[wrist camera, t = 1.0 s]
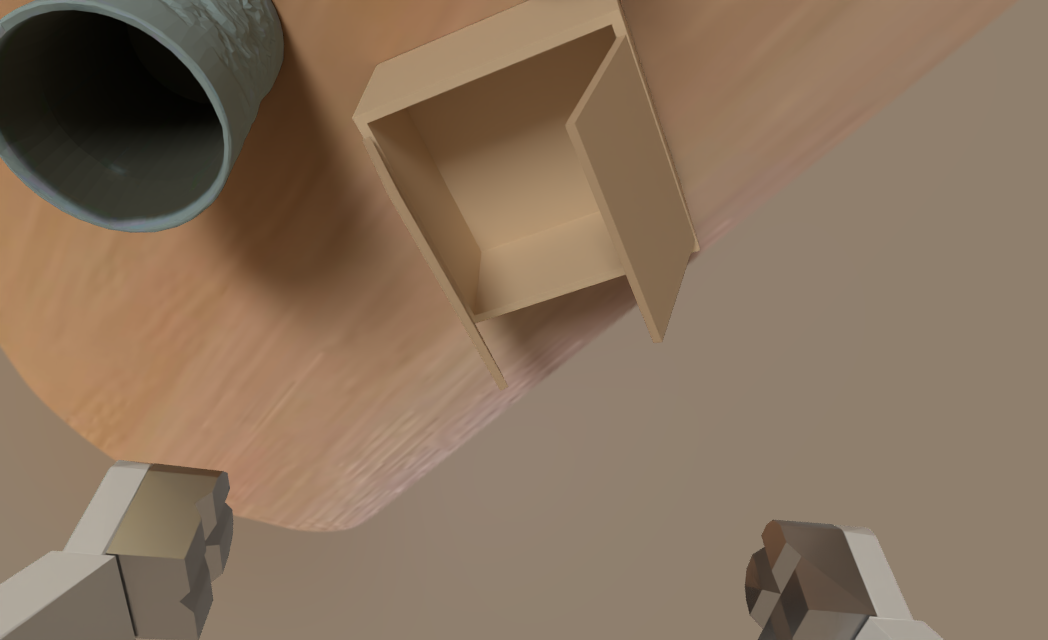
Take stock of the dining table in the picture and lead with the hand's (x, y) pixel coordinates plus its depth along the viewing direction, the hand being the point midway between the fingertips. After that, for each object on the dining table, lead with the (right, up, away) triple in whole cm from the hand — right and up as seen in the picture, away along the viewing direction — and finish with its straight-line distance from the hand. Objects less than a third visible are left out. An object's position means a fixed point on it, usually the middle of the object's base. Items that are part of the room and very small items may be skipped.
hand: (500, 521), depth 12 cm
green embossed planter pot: (-16, +18, +30) cm, 39 cm away
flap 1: (-4, +6, +25) cm, 26 cm away
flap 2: (+5, +9, +23) cm, 25 cm away
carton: (+1, +14, +33) cm, 36 cm away
